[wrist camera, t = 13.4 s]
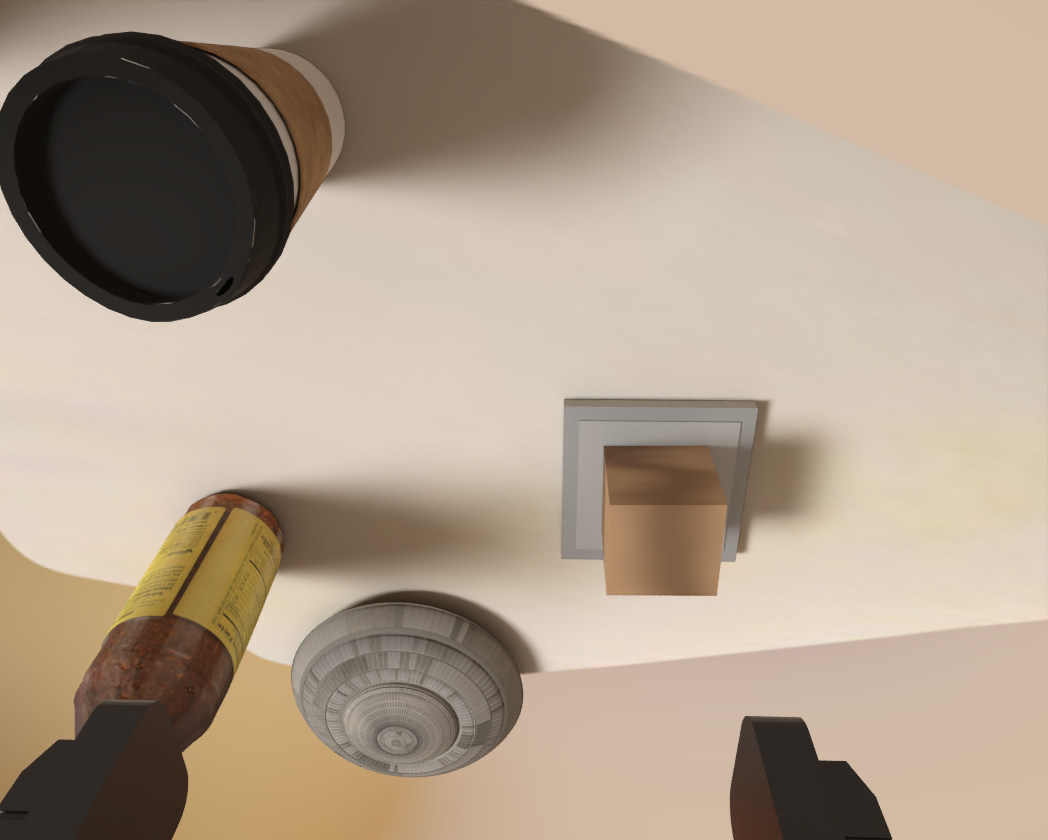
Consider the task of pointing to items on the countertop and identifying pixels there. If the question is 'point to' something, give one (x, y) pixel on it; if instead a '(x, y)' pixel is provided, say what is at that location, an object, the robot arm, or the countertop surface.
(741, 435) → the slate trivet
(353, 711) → the flying saucer
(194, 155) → the coffee cup
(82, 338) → the countertop surface
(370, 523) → the countertop surface
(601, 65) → the countertop surface
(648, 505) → the walnut cube
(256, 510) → the sauce bottle
